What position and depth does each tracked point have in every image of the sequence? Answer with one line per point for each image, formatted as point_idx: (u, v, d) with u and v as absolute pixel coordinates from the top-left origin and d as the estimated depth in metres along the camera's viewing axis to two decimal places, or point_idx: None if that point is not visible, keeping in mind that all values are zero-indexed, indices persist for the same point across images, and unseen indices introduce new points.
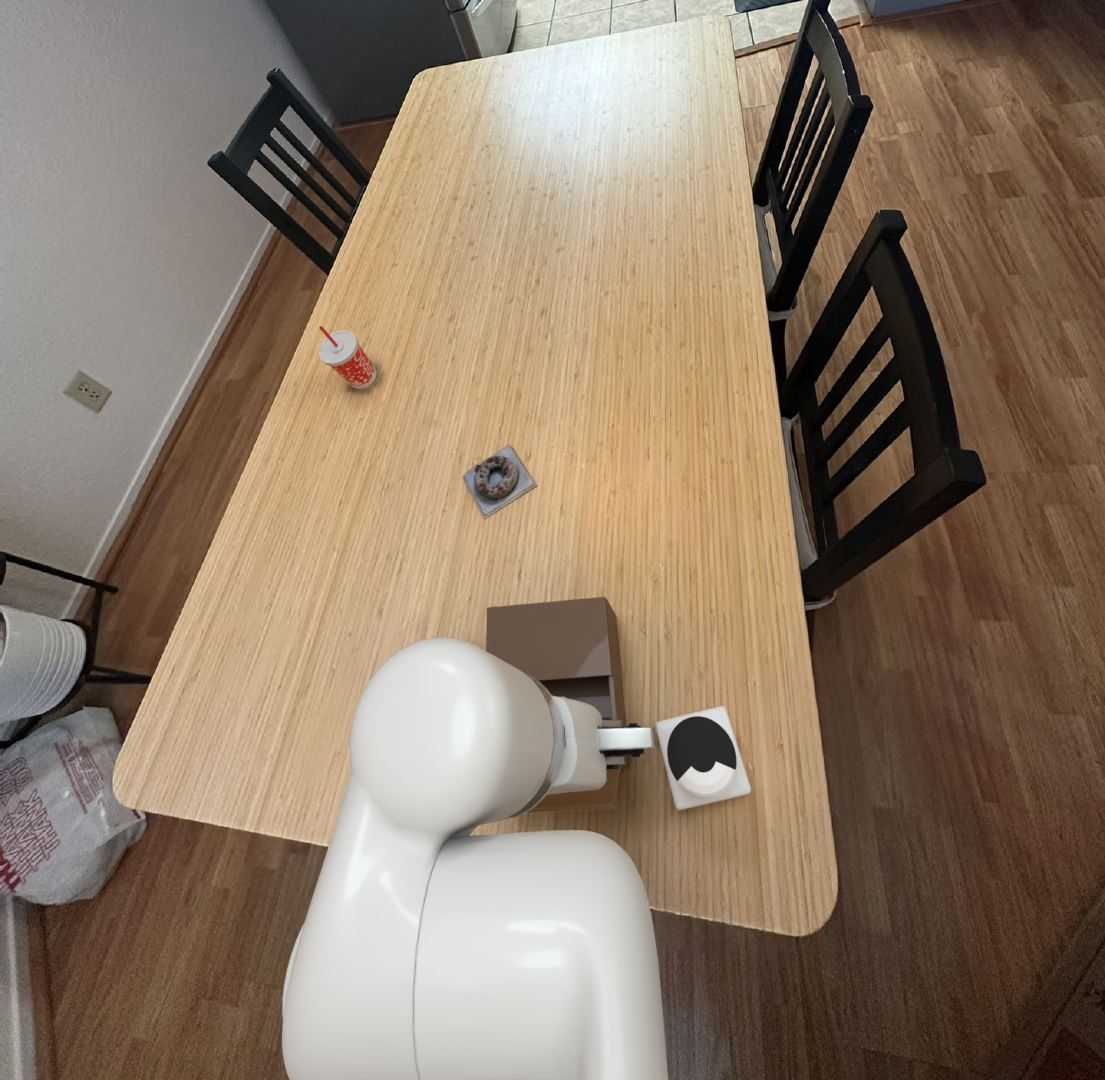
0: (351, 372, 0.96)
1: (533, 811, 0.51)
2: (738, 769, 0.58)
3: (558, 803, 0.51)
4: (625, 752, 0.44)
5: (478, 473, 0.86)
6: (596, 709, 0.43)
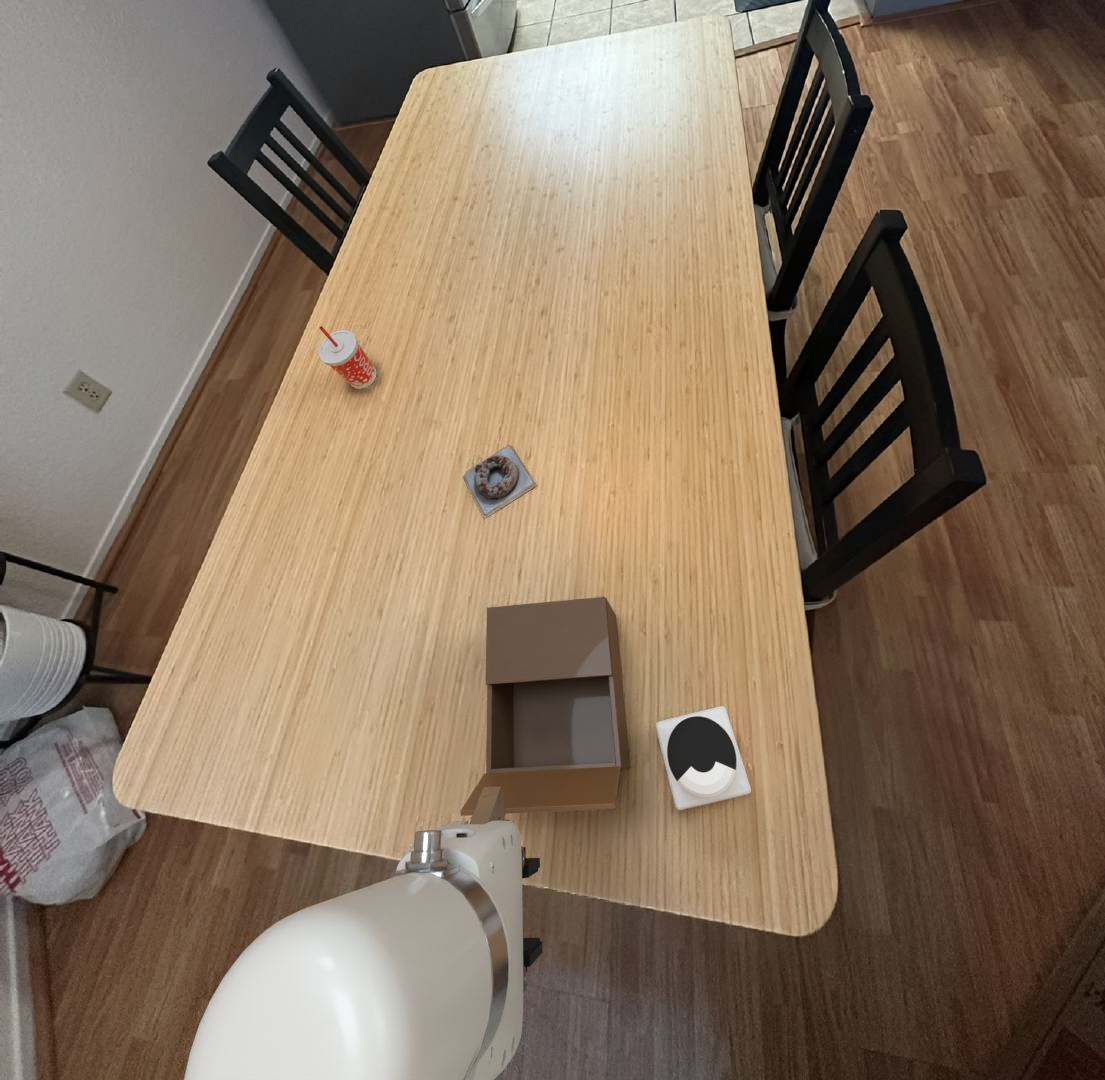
0: (351, 372, 0.96)
1: (533, 811, 0.51)
2: (738, 769, 0.58)
3: (558, 803, 0.51)
4: None
5: (478, 473, 0.86)
6: None
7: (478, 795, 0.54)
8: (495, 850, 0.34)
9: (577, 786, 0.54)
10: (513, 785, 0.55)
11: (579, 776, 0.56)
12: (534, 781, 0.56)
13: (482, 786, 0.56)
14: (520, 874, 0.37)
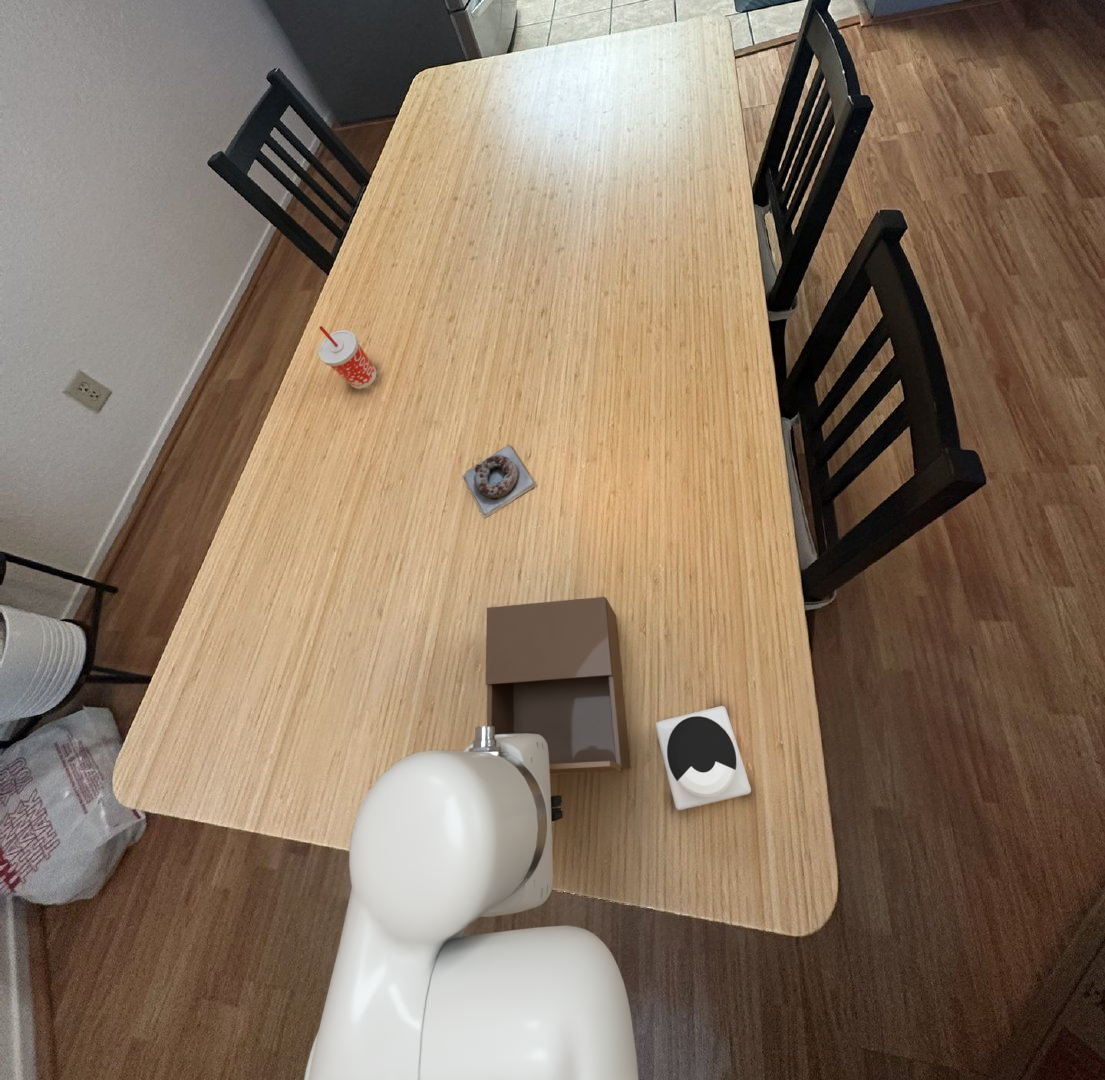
0: (351, 372, 0.96)
1: None
2: (738, 769, 0.58)
3: None
4: None
5: (478, 473, 0.86)
6: None
7: None
8: (532, 748, 0.44)
9: None
10: None
11: None
12: None
13: None
14: (549, 774, 0.48)
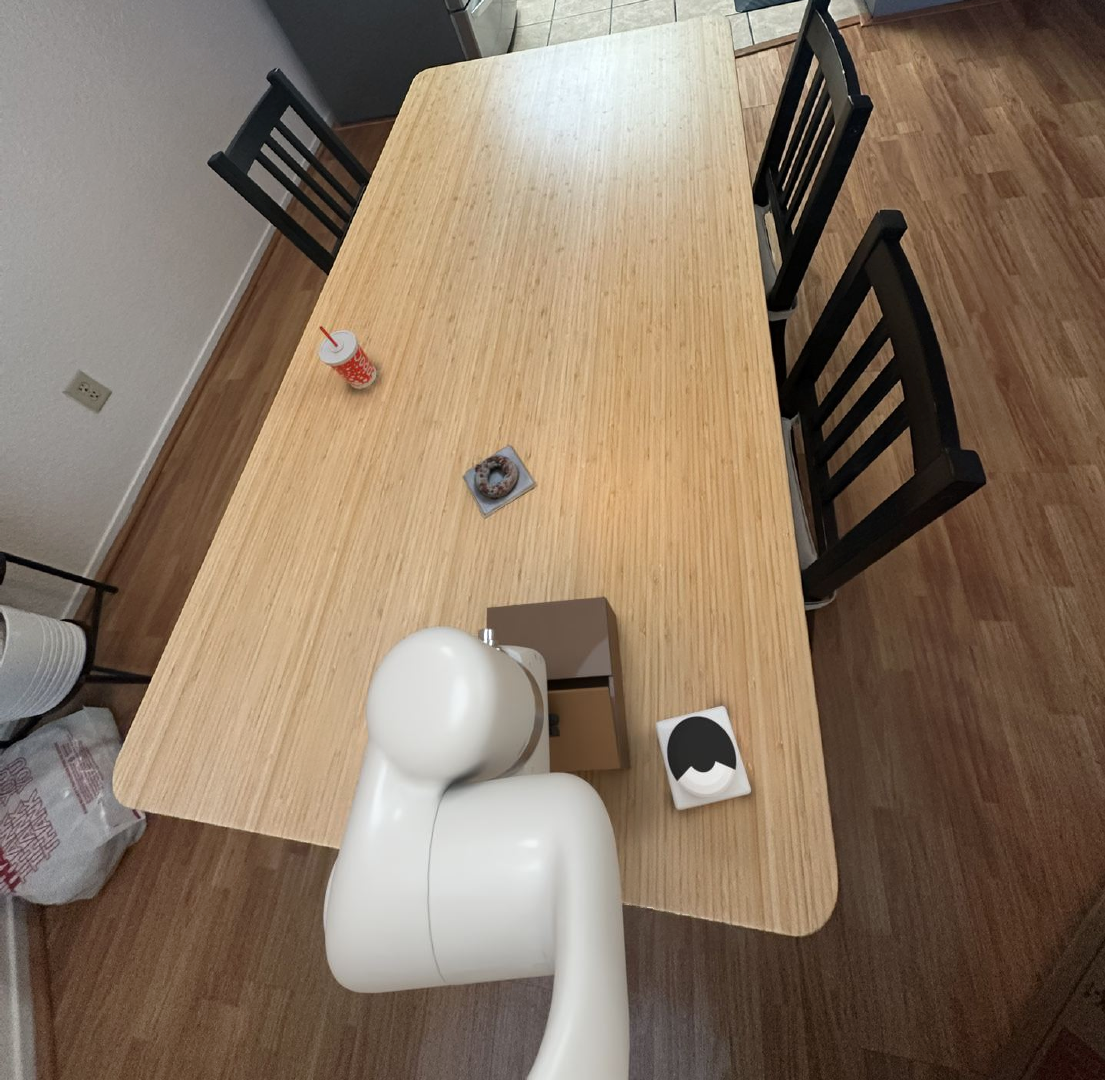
0: (351, 371, 0.96)
1: None
2: (738, 769, 0.58)
3: None
4: None
5: (478, 472, 0.86)
6: None
7: None
8: (530, 656, 0.48)
9: None
10: None
11: None
12: None
13: None
14: (546, 687, 0.52)
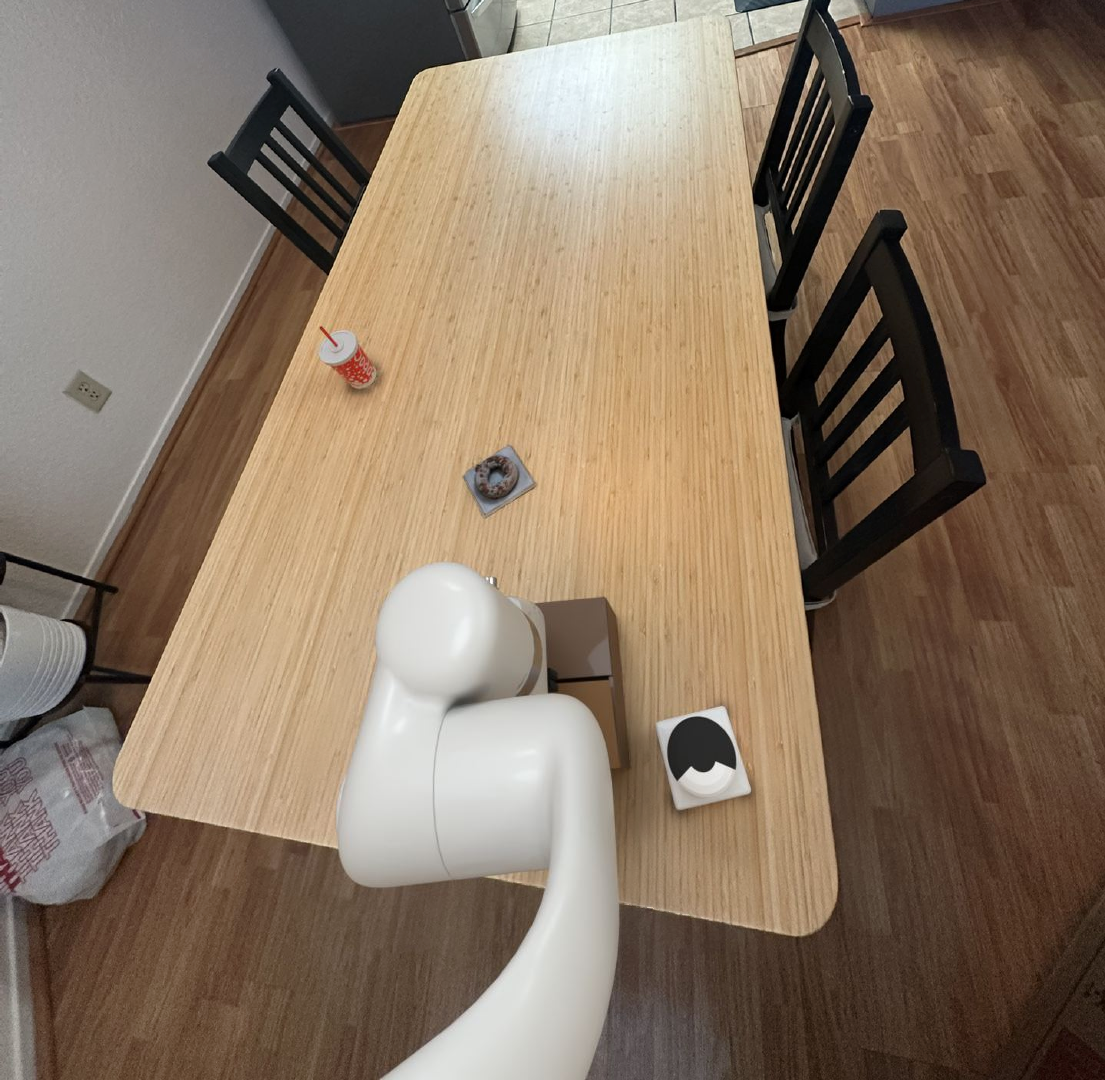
0: (351, 371, 0.96)
1: None
2: (738, 769, 0.58)
3: None
4: None
5: (478, 472, 0.86)
6: None
7: None
8: (530, 607, 0.50)
9: None
10: None
11: None
12: None
13: None
14: (545, 640, 0.54)
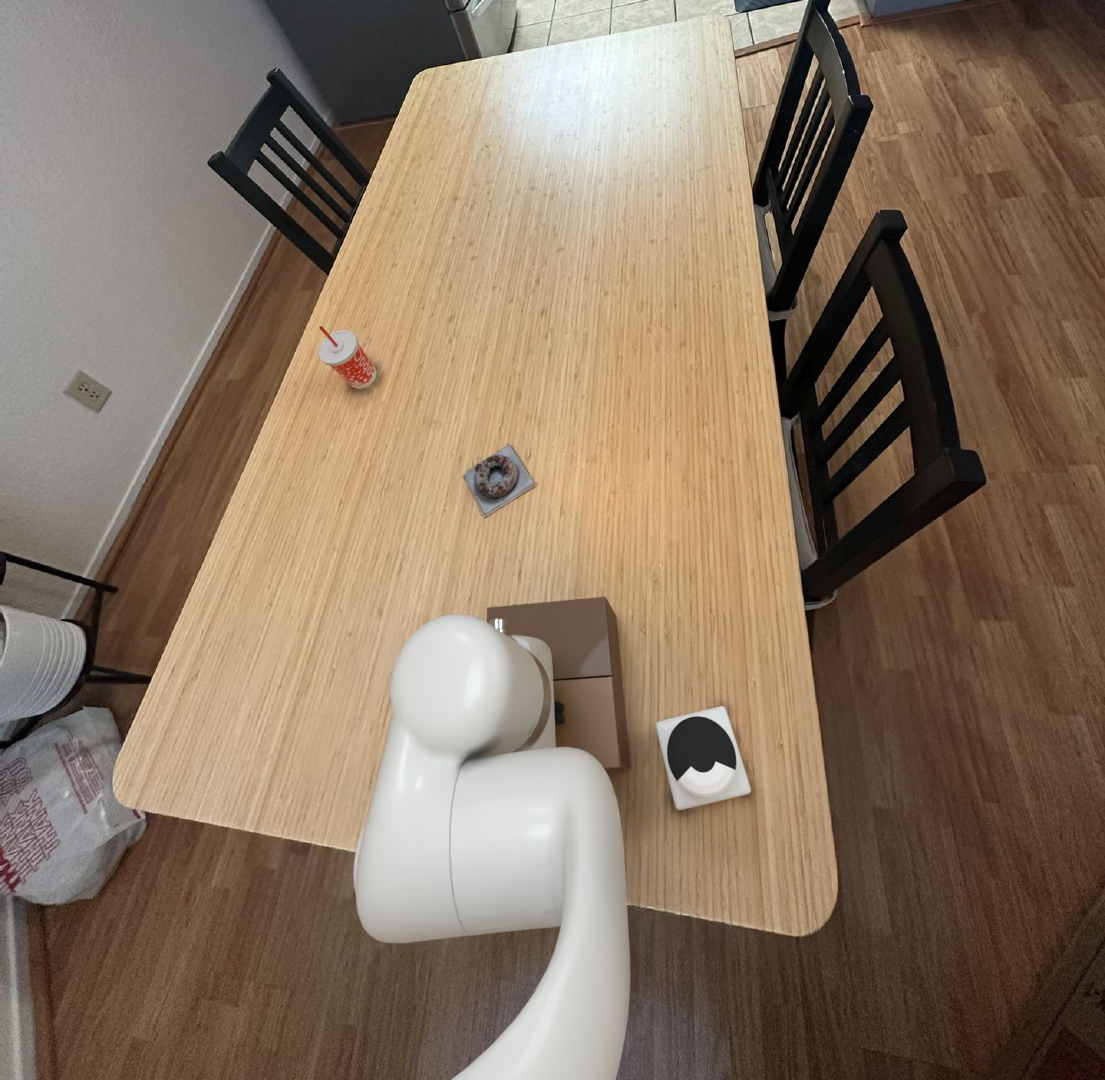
0: (351, 371, 0.96)
1: None
2: (738, 769, 0.58)
3: None
4: None
5: (478, 472, 0.86)
6: None
7: None
8: (538, 645, 0.51)
9: None
10: None
11: None
12: None
13: None
14: (552, 675, 0.55)
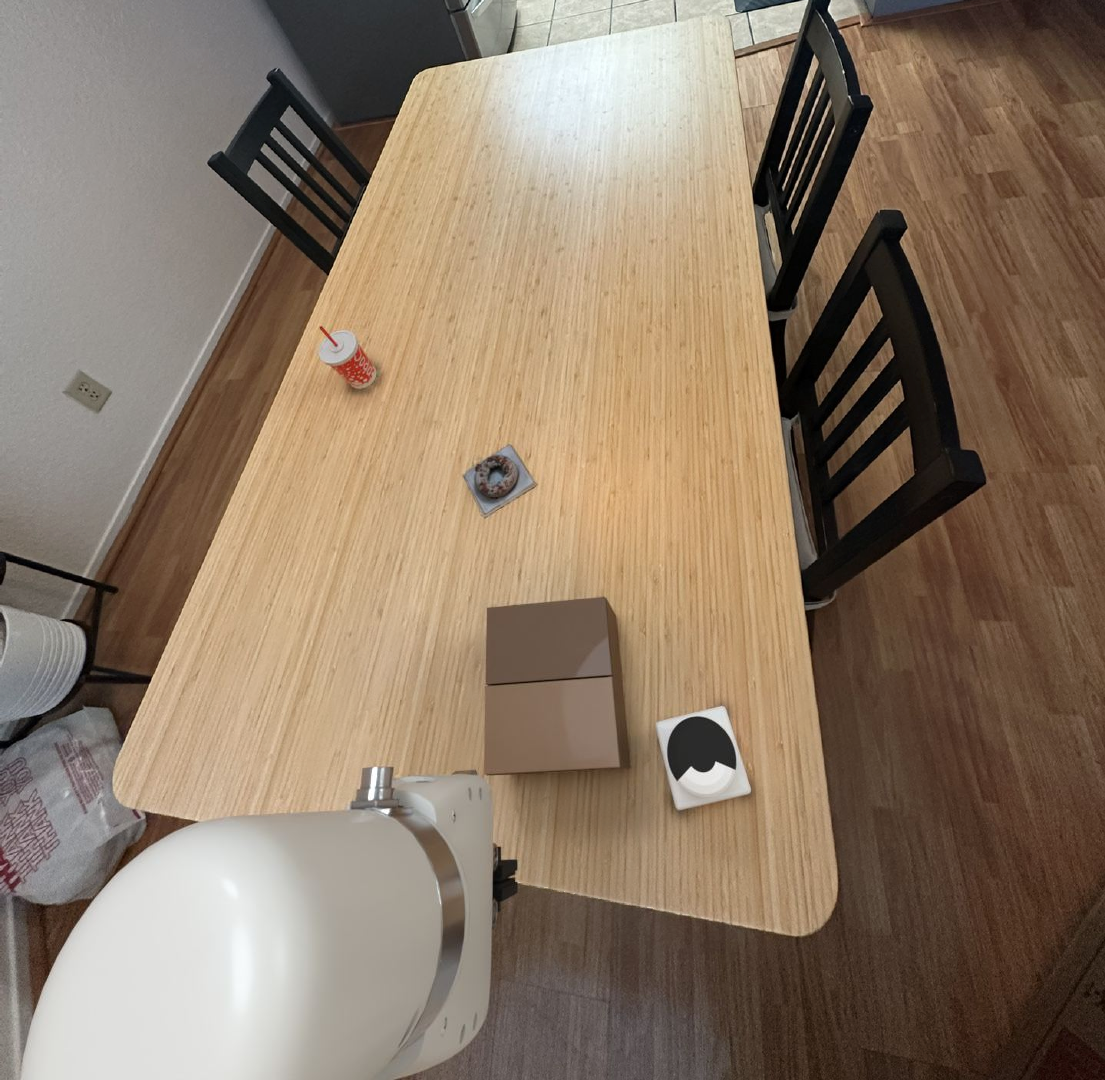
0: (351, 371, 0.96)
1: (545, 682, 0.62)
2: (738, 769, 0.58)
3: None
4: None
5: (478, 472, 0.86)
6: (470, 1041, 0.28)
7: None
8: (459, 799, 0.30)
9: None
10: None
11: None
12: None
13: None
14: (490, 834, 0.33)
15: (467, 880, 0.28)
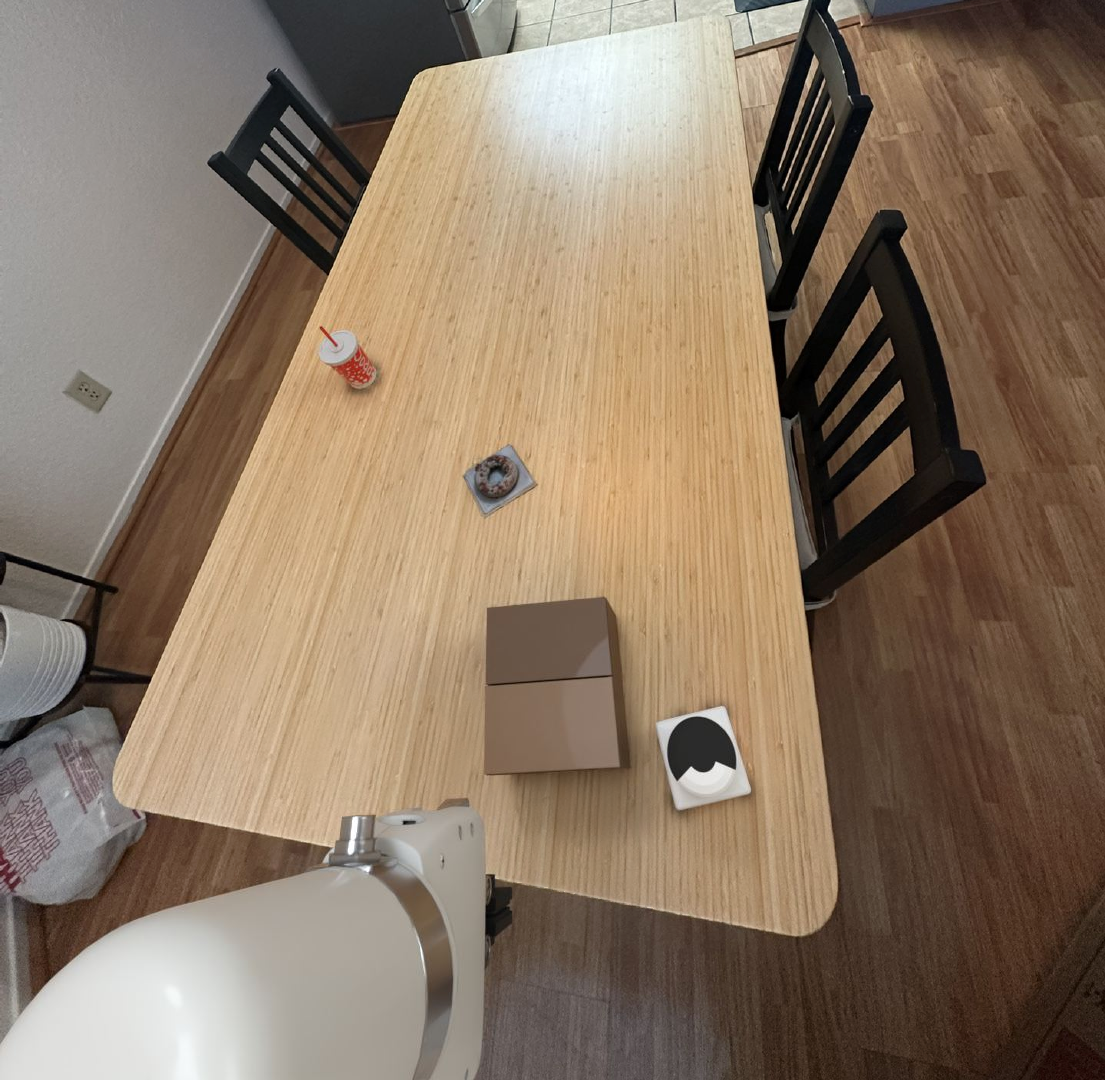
0: (351, 371, 0.96)
1: (545, 682, 0.62)
2: (738, 769, 0.58)
3: None
4: None
5: (478, 472, 0.86)
6: None
7: None
8: (448, 841, 0.28)
9: None
10: None
11: None
12: None
13: None
14: (483, 870, 0.32)
15: (457, 929, 0.27)
